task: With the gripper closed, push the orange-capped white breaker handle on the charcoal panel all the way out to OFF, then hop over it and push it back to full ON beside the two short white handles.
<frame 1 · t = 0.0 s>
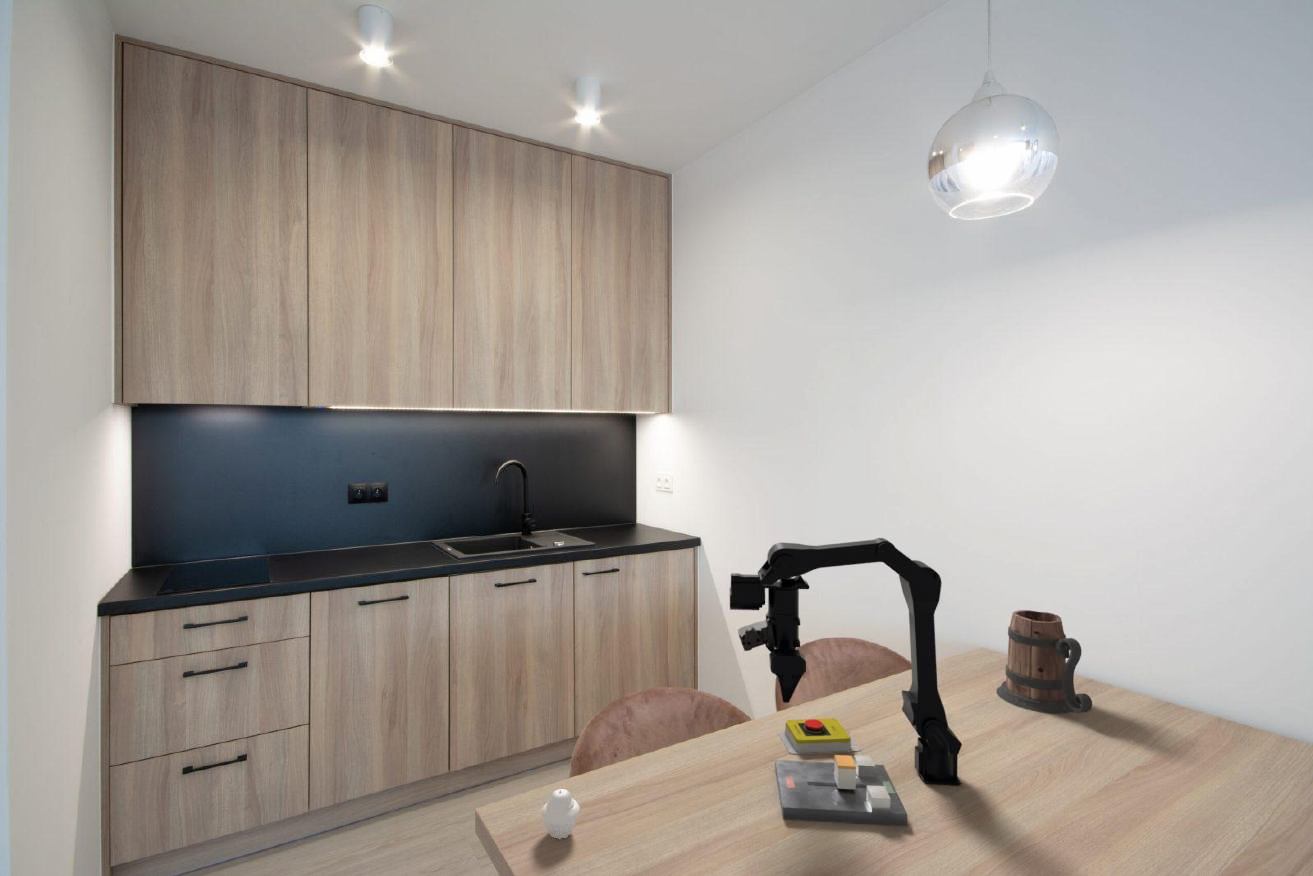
hand: (783, 692, 121), 15 cm above the table, tool pointing down, fingers open, 9 cm apart
white rounded lump: (560, 834, 102), on the table
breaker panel: (836, 796, 112), on the table
tripped breaker: (844, 772, 111), point 4 cm above the table, slide at 4.5 cm
tankard: (1046, 704, 148), on the table
emergency button: (818, 745, 131), on the table
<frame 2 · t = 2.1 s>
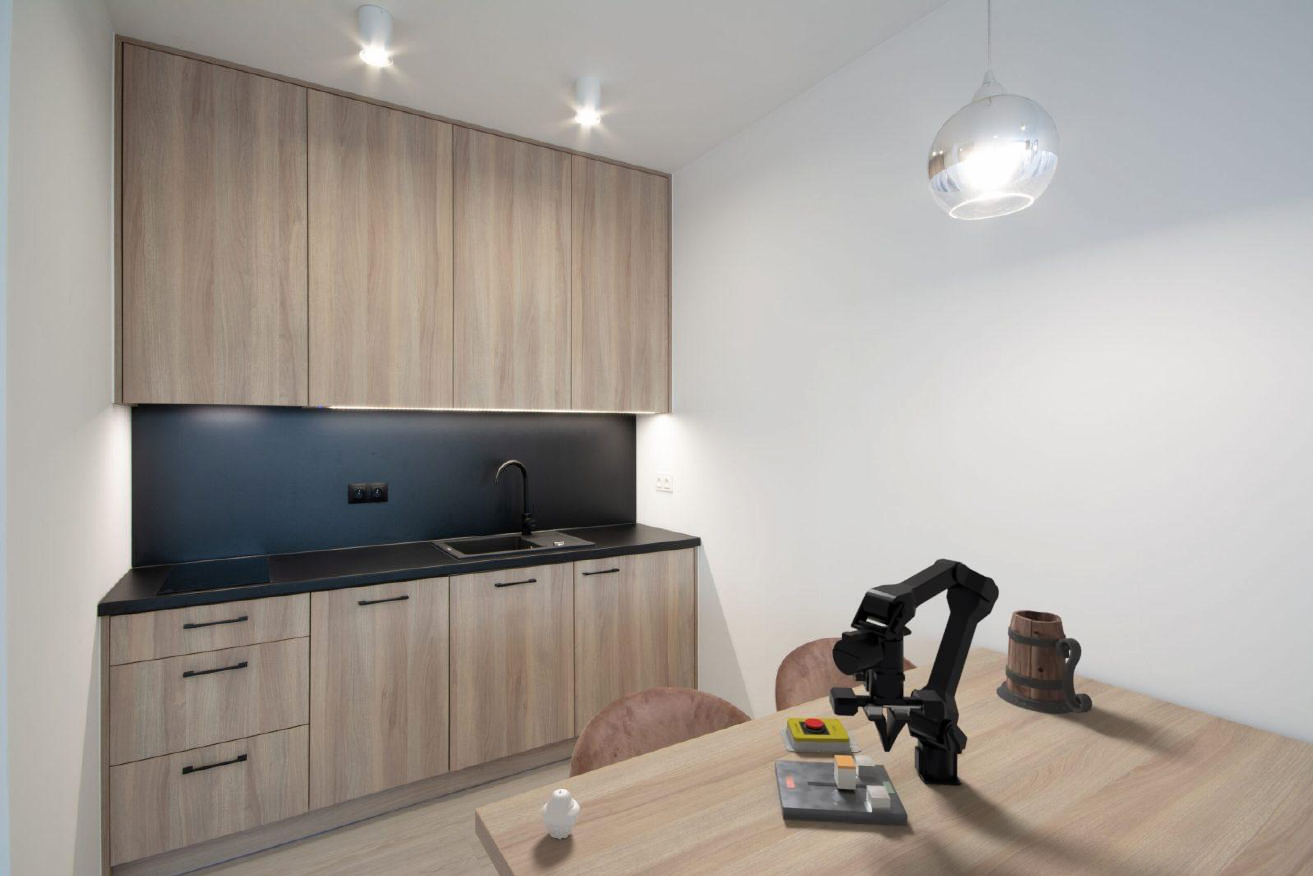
hand: (886, 750, 111), 8 cm above the table, tool pointing down, fingers closed
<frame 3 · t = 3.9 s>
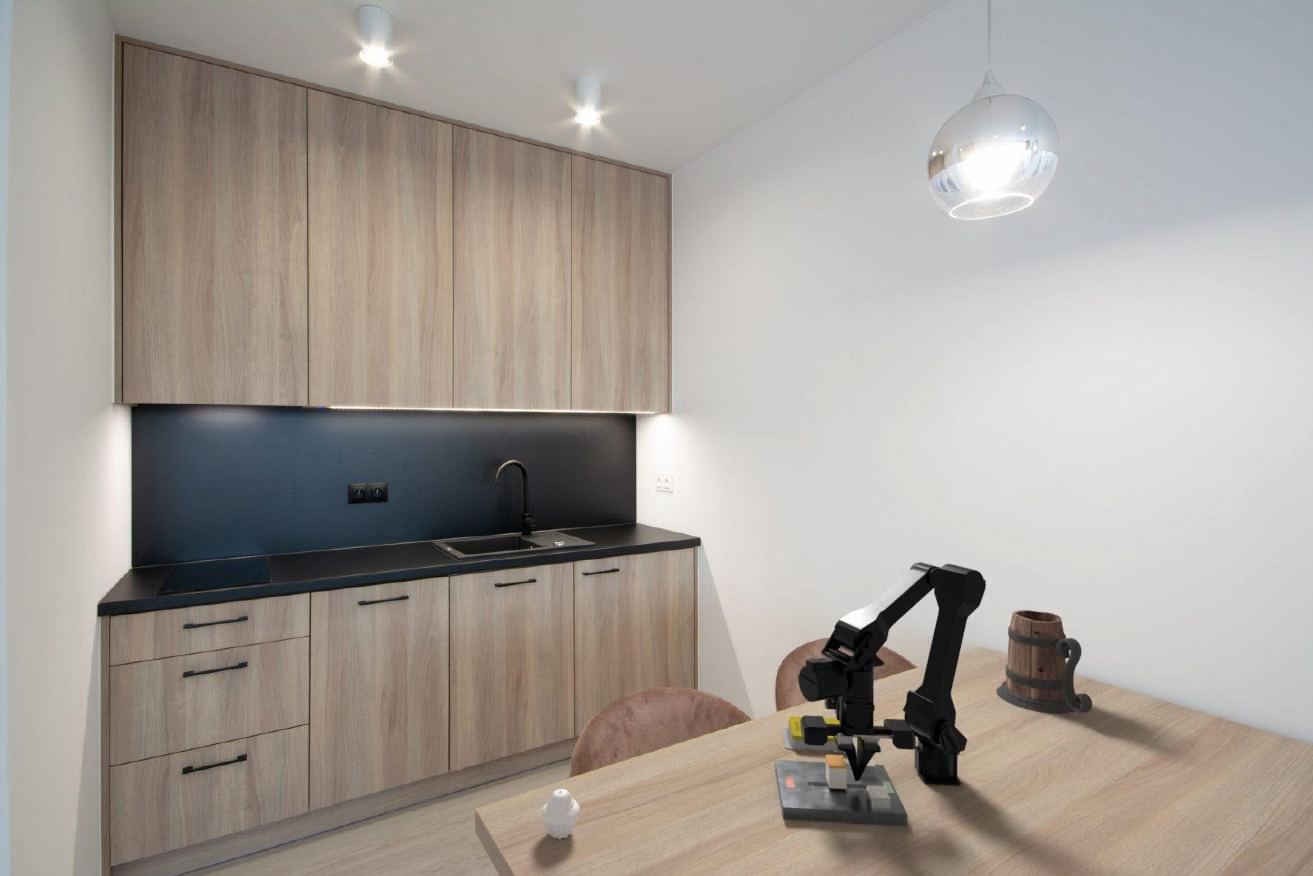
hand: (856, 780, 111), 3 cm above the table, tool pointing down, fingers closed
tripped breaker: (836, 771, 112), point 4 cm above the table, slide at 6.0 cm, touching gripper
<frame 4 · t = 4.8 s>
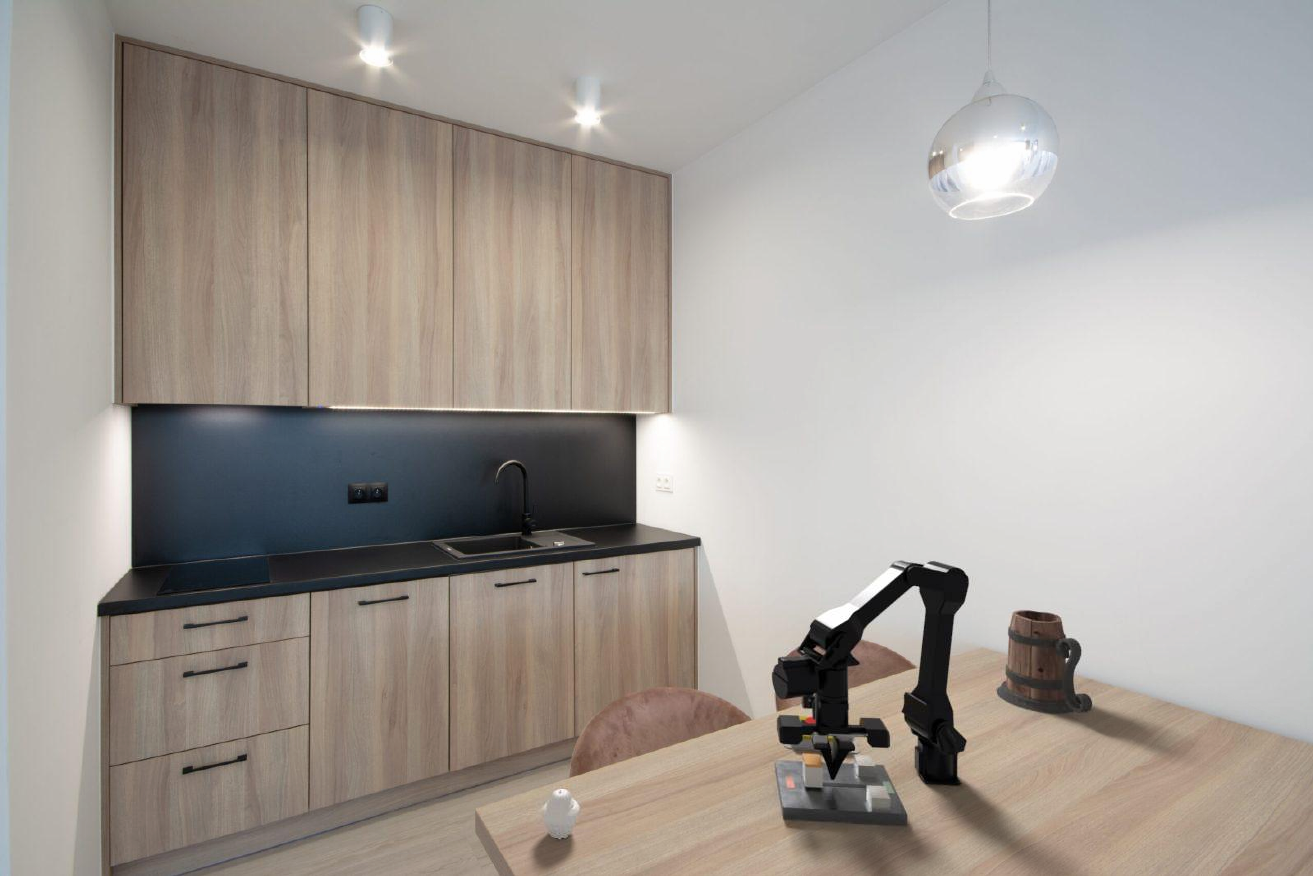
hand: (832, 778, 112), 3 cm above the table, tool pointing down, fingers closed
tripped breaker: (812, 770, 112), point 4 cm above the table, slide at 10.1 cm, touching gripper
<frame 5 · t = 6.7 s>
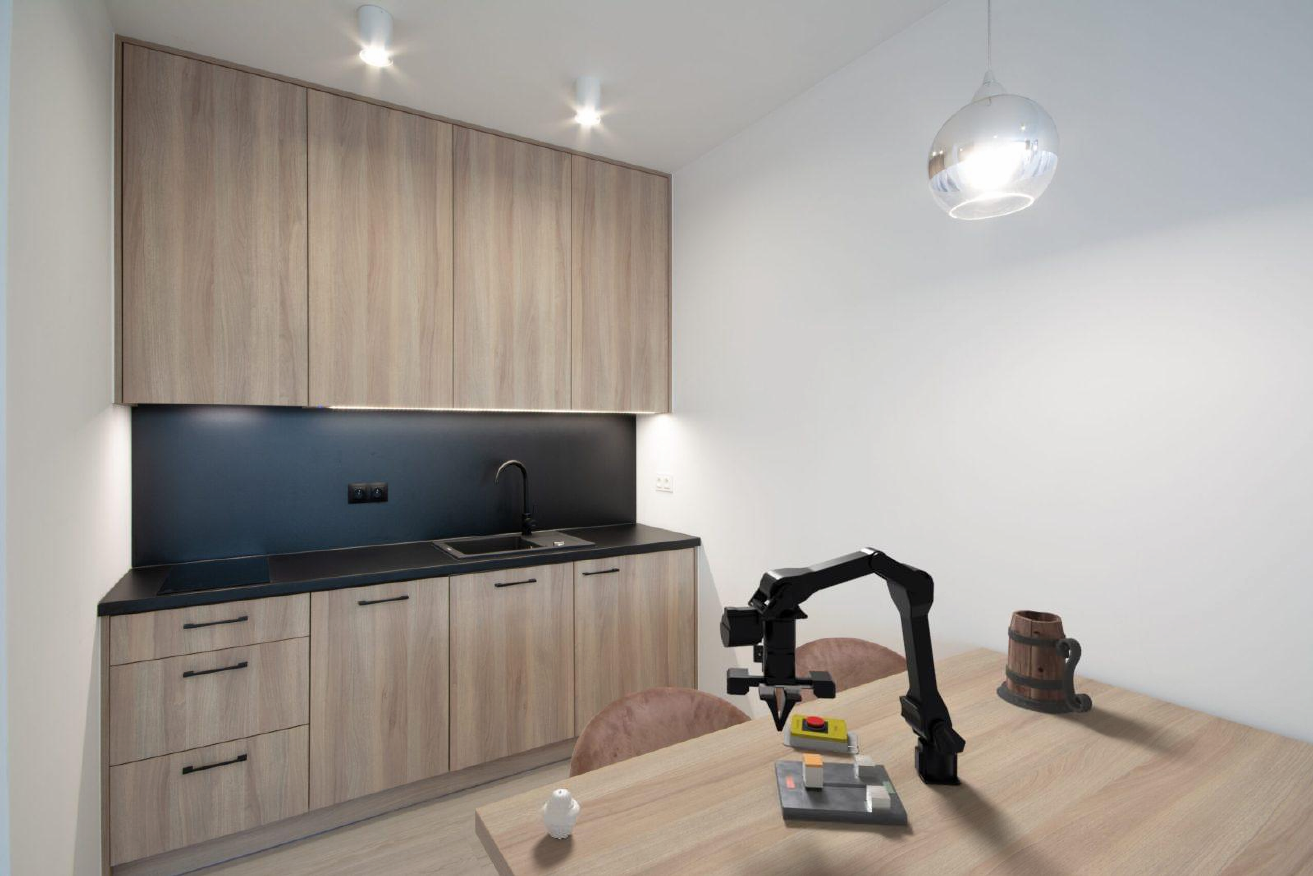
hand: (779, 730, 112), 11 cm above the table, tool pointing down, fingers closed
tripped breaker: (812, 770, 112), point 4 cm above the table, slide at 10.1 cm
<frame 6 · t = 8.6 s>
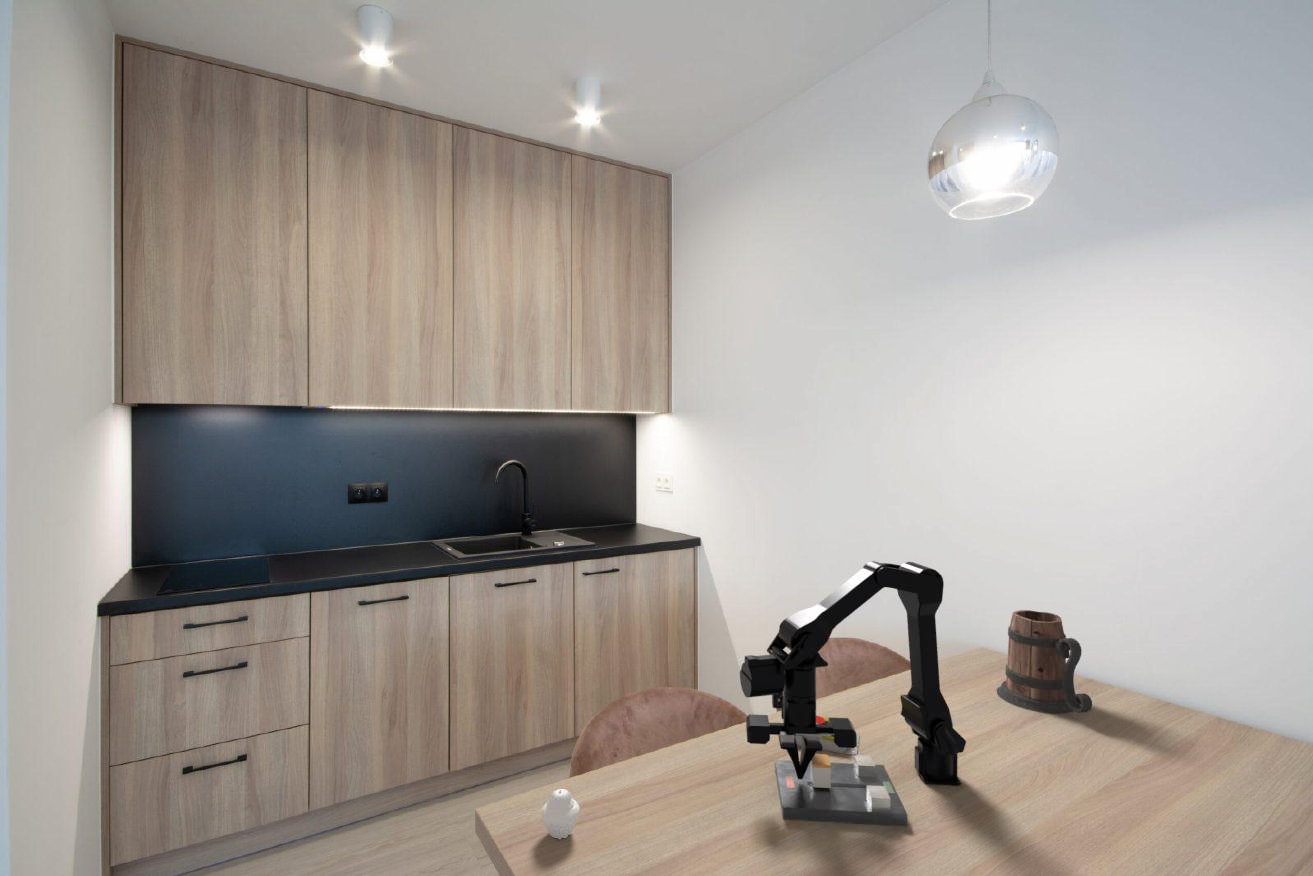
hand: (799, 778, 112), 3 cm above the table, tool pointing down, fingers closed
tripped breaker: (820, 770, 112), point 4 cm above the table, slide at 8.7 cm, touching gripper
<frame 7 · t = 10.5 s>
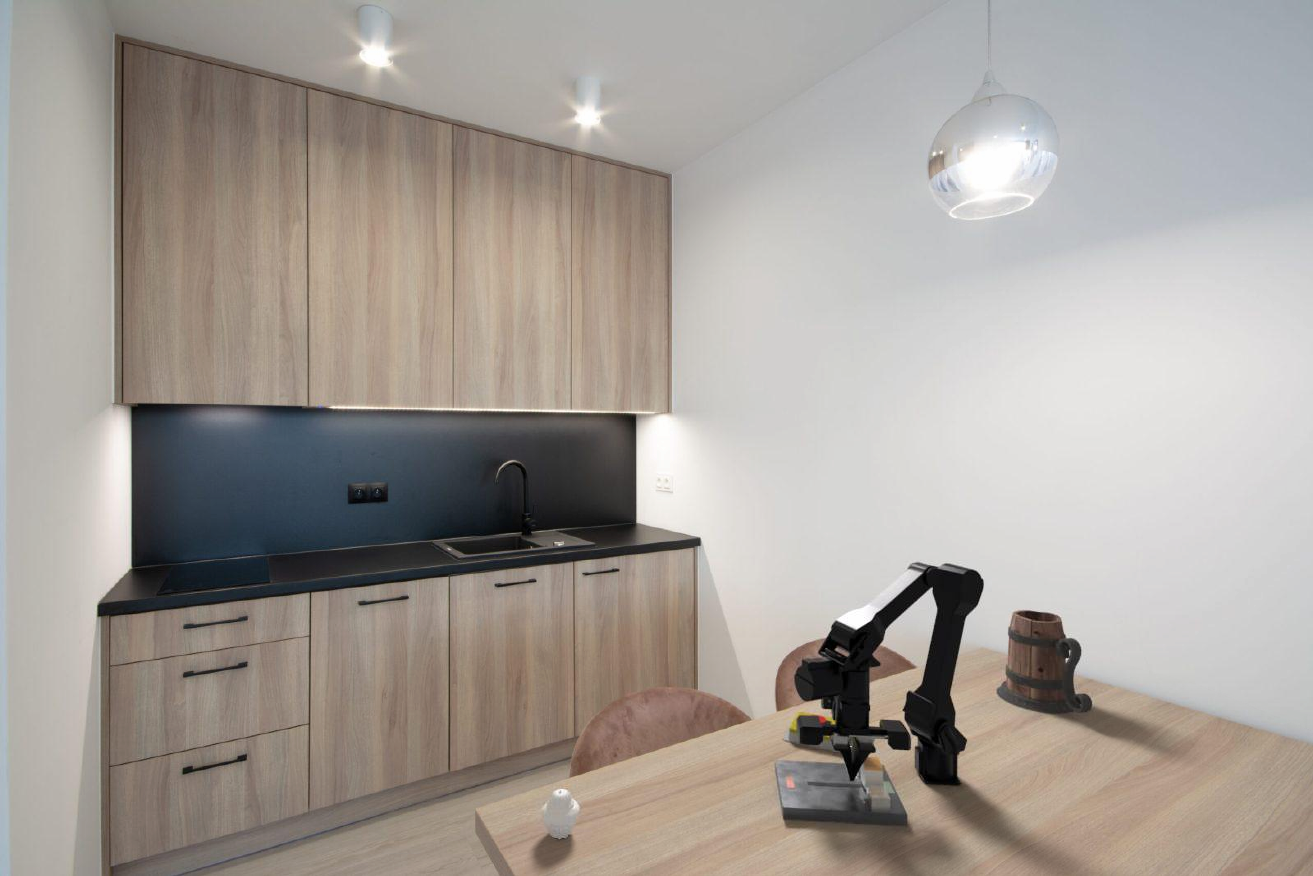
hand: (851, 780, 111), 3 cm above the table, tool pointing down, fingers closed
tripped breaker: (871, 773, 111), point 4 cm above the table, slide at -0.1 cm, touching gripper
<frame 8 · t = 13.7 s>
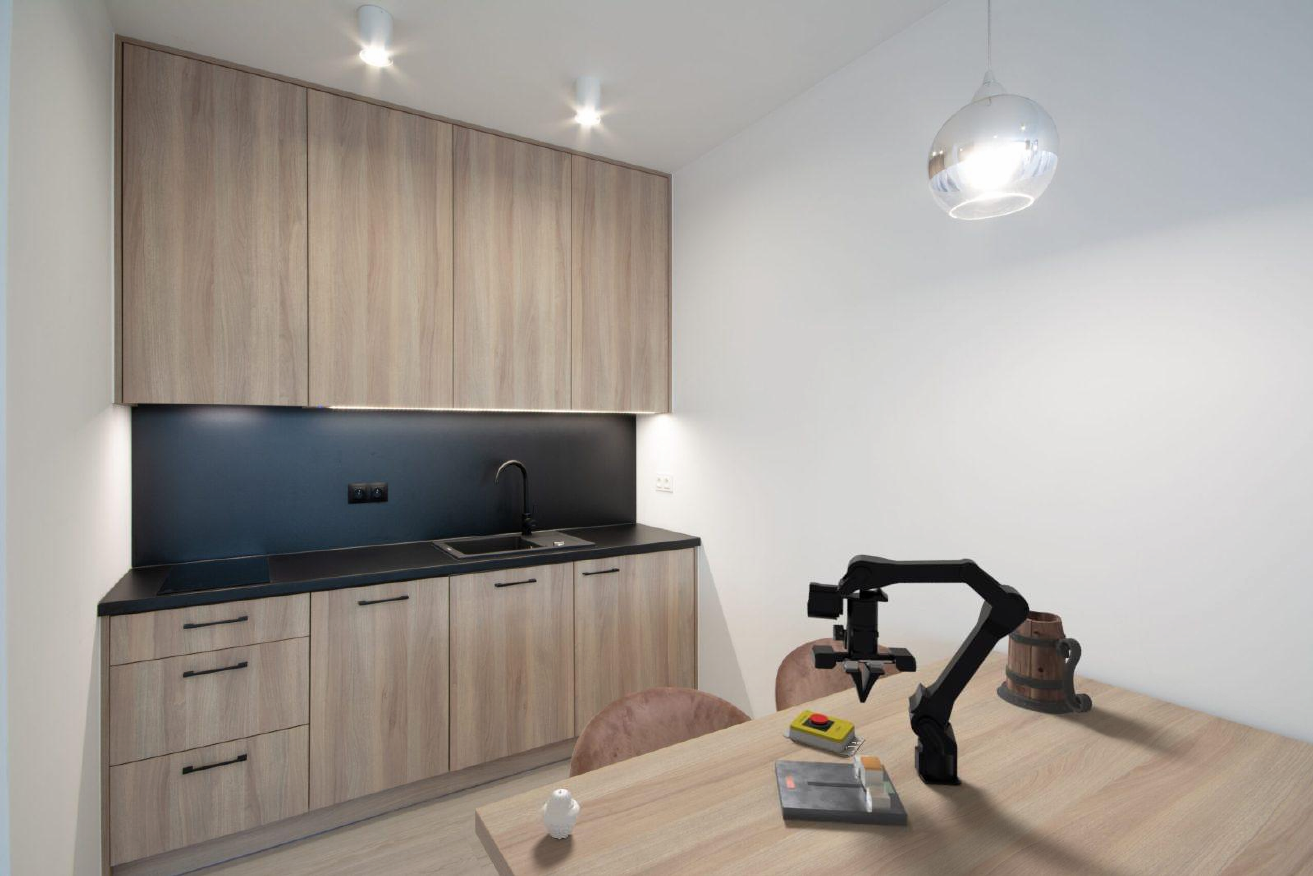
hand: (862, 702, 122), 12 cm above the table, tool pointing down, fingers closed
tripped breaker: (871, 773, 111), point 4 cm above the table, slide at -0.1 cm
at the end: tripped breaker slide at -0.1 cm; emergency button moved 2.5 cm from its start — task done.
